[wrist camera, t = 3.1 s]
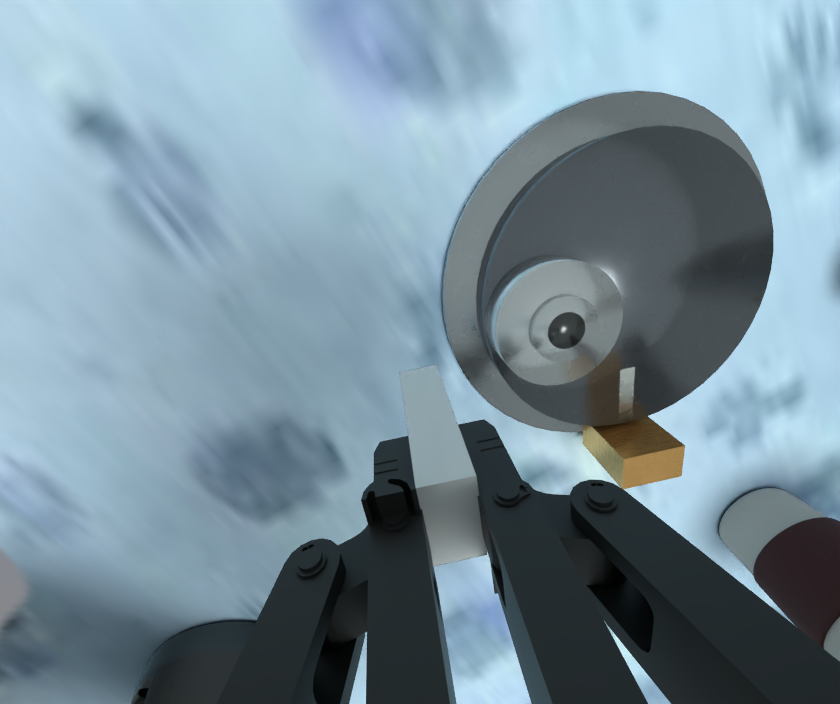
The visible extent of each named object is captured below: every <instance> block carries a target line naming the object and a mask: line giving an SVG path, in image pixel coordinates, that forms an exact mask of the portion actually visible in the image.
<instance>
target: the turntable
mask: <svg viewBox="0 0 840 704" xmlns="http://www.w3.org/2000/svg"><path fill="white" fill-rule="evenodd" d="M540 255H561V256H565V257H569V258H572V259H575V260H579V261H582V262H585V263H589V264H592V265H594V266H596V267H598V268H600V269H601V270H603V271H604V272H605V273H606V274H607V275H608V276H609V277H610V278H611V279H612V280H613V281H614V283H615V284H616V286H617V288H618V290H619V293H620V296H621V299H622V305H623V319H622V325H621V330H620V333H619V336H618V338H617V340H616V342H615V344H614V346H613V348H612V349H611V351H610V353H609V354H608V355H607V356H606V358H605V359H604V360H603V361H602V362H601V363H600V364H599V365H598V366H597V367H596V368H594V369H593V370H592V371H591V372H589V373H588V374H586V375H584V376H583V377H581V378H579V379H577V380H574V381H571V382H568V383H565V384H560V385H539V384H534V383H531V382H528V381H526V380H524V379H522V378H520V377H519V376H518V375H516V374H515V373H514V372H513V371H512V370H511V369H510V368H509V367H508V366H507V364H506V363H505V362H504V361H503V360H502V358H501V357H500V356H499V355H498V354H497V352H496V351H495V350H494V348H493V347H492V345H491V343H490V341H489V339H488V336H487V332H486V326H485V315H486V309H487V304H488V301H489V298H490V296H491V294H492V292H493V290H494V288H495V287H496V285H497V284H498V282H499V281H500V280H501V278H502V277H503V276H504V275H505V274H506V273H507V272H508V271H509V270H511V269H512V268H513V267H515V266H516V265H517V264H519V263H521V262H523V261H525V260H527V259H530V258H532V257H536V256H540ZM772 256H773V226H772V218H771V212H770V208H769V205H768V201H767V198H766V194H765V192H764V190H763V188H762V186H761V184H760V182H759V180H758V177H757V176H756V175H755V173H754V172H753V170H752V169H751V168H750V166H749V165H748V163H747V162H746V161H745V160H744V159H743V158H742V157H741V156H740V155H739V154H738V153H737V152H736V151H735V150H734V149H732V148H731V147H729V146H728V145H726V144H725V143H723V142H722V141H720V140H719V139H717V138H715V137H712V136H710V135H708V134H706V133H703V132H701V131H697V130H693V129H689V128H684V127H678V126H661V125H660V126H650V127H640V128H635V129H631V130H627V131H623V132H619V133H616V134H612V135H608V136H604V137H600V138H597V139H594V140H591V141H589V142H586V143H584V144H582V145H579V146H577V147H575V148H573V149H571V150H570V151H568V152H566V153H564V154H563V155H561V156H559V157H557V158H556V159H555V160H553V161H552V162H551V163H549V164H548V165H547V166H545V167H544V168H543V169H541V170H540V171H539V172H538V173H537V174H536V175H535V176H534V177H533V178H532V179H531V180H529V181H528V182H527V183H526V184H525V185H524V186H523V187H522V189H521V190H520V191H519V192H518V194H517V195H516V196H515V197H514V198H513V200H512V201H511V202H510V203H509V205H508V206H507V208H506V210H505V211H504V213H503V214H502V216H501V217H500V219H499V221H498V222H497V224H496V226H495V228H494V230H493V232H492V235H491V237H490V239H489V241H488V244H487V246H486V249H485V252H484V255H483V258H482V261H481V266H480V271H479V275H478V280H477V292H476V309H477V320H478V326H479V331H480V335H481V338H482V341H483V344H484V347H485V350H486V352H487V353H488V355H489V357H490V359H491V361H492V363H493V365H494V366H495V367H496V369H497V370H498V372H499V373H500V374H501V376H502V377H503V378H504V380H505V381H506V383H507V384H508V385H509V387H510V388H511V389H512V390H513V391H514V392H515V393H516V394H517V395H518V396H519V397H520V398H521V399H522V400H523V401H524V402H526V403H527V404H528V405H530V406H531V407H532V408H534V409H535V410H537V411H539V412H541V413H543V414H545V415H546V416H548V417H551V418H554V419H557V420H559V421H562V422H567V423H572V424H576V425H583V444H584V446H585V447H586V448H587V449H588V450H589V451H590V453H591V454H592V455H593V456H594V457H595V458H596V459H597V461H598V462H599V463H600V464H601V465H602V466H603V468H604V469H605V470H606V471H607V472H608V473H609V474H610V476H611V477H612V478H613V479H614V480H615V481H616V482H617V484H618V485H619V486H620V487H621V488H622V489H626V488H631V487H635V486H639V485H644V484H648V483H653V482H657V481H662V480H666V479H670V478H675V477H679V476H681V475H682V466H683V458H684V449H685V445H683V444H682V443H681V442H680V441H678V440H677V439H676V438H674V437H673V436H672V435H671V434H669V433H668V432H667V431H665V430H664V429H663V428H662V427H660V426H659V425H658V424H657V423H655V422H654V421H653V420H651V419H650V418H649V417H648V415H651V414H654V413H656V412H658V411H660V410H662V409H664V408H666V407H668V406H670V405H672V404H674V403H676V402H677V401H679V400H680V399H682V398H684V397H685V396H687V395H688V394H690V393H691V392H692V391H694V390H695V389H696V388H697V387H699V386H700V385H701V384H703V383H704V382H705V381H706V380H707V379H708V378H709V377H710V376H711V375H712V374H713V373H714V372H716V371H717V370H718V368H719V367H720V366H721V365H722V364H723V363H724V362H725V361H726V360H727V358H728V357H729V356H730V355H731V354H732V352H733V351H734V350H735V348H736V347H737V345H738V344H739V343H740V341H741V340H742V338H743V337H744V335H745V333H746V332H747V330H748V328H749V327H750V325H751V323H752V321H753V319H754V317H755V315H756V313H757V311H758V309H759V307H760V304H761V301H762V298H763V296H764V293H765V290H766V287H767V283H768V279H769V275H770V271H771V264H772Z"/></svg>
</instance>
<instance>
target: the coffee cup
mask: <svg viewBox="0 0 840 704" xmlns="http://www.w3.org/2000/svg"><path fill="white" fill-rule="evenodd" d="M719 534H720V537H721V539H722V541H723V543H724V544H725V545H726V546H727V547H728V548H729V549H730V551H731V552H732V553H733V554H734V555H735V556H736V557H737V558H738V559H739V560H740V561H741V563H742V564H743V565H744V566H745V567H746V568H747V569H748V570H749V571H750V572H751V573H752V575H753V576H754V578H755V581H756V582H757V584H758V585H759V586H760V587H761V588H762V589H763V590H764V592H765V593H766V594H767V595H768V596H769V597H770V598H771V599H772V600H773V602H774V603H775V604H776V605H777V606H778V607H779V608H780V609H781V610H782V611H783V613H784V614H785V615H786V616H787V617H788V618H789V619H790V620H791V621H792V623H793V624H794V625H795V626H796V627H797V628H798V629H799V630H801V631H802V632H803V633H804V634H806V635H807V636H808V637H809V638H811V639H812V640H813V641H815V642H816V643H817V644H818V645H820V646H821V647H822V648H823V649H825V650H826V651H827V652H828V653H830V654H831V655H832V656H833V657H835V658H836V659H837V660H838V661H840V521H838V520H835V519H832V518H828V517H827V516H825V515H824V514H822V513H820V512H819V511H817V510H816V509H814V508H812V507H811V506H809V505H808V504H806V503H804V502H803V501H801V500H800V499H798V498H796V497H795V496H793V495H792V494H790V493H788V492H786V491H784V490H781V489H777V488H764V489H759V490H755V491H753V492H750V493H748V494H746V495H744V496H743V497H741V498H740V499H738V500H737V501H736V502H734V503H733V504H732V505H731V506H730V507H729V508H728V510H727V511H726V512H725V514H724V515H723V517H722V519H721V522H720V526H719Z"/></svg>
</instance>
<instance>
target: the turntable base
mask: <svg viewBox="0 0 840 704" xmlns="http://www.w3.org/2000/svg"><path fill="white" fill-rule="evenodd" d="M660 125H661V126H678V127H684V128H689V129H693V130H697V131H701V132H703V133H706V134H708V135H710V136H712V137H715V138H717V139H719V140H720V141H722V142H723V143H725V144H726V145H728V146H729V147H731V148H732V149H734V150H735V151H736V152H737V153H738V154H739V155H740V156H741V157H742V158H743V159H744V160H745V161H746V162H747V163H748V165H749V166H750V168H751V169H752V170H753V172H754V173H755V175H756V176H757V177H758V180H759V182H760V184H761V186H762V188H763V190H764V186H763V183H762V179H761V176H760V173H759V170H758V168H757V166H756V164H755V162H754V160H753V158H752V155H751V153H750V152H749V150H748V149H747V147H746V146H745V144H744V143H743V142H742V140H741V139H740V137H739V136H738V135H737V134H736V133H735V132H734V131H733V130H732V129H731V128H730V127H729V126H728V125H727V124H726V123H725V122H724V121H723V120H722V119H721V118H719V117H718V116H716V115H715V114H714V113H712V112H711V111H709V110H708V109H706V108H705V107H703V106H700V105H698V104H696V103H694V102H692V101H689V100H687V99H685V98H681V97H677V96H673V95H669V94H665V93H658V92H644V91H634V92H623V93H613V94H609V95H605V96H601V97H597V98H593V99H589V100H586V101H584V102H582V103H579V104H577V105H574V106H572V107H570V108H567V109H565V110H562V111H560V112H558V113H556V114H555V115H553V116H551V117H550V118H548V119H546V120H545V121H543V122H541V123H539V124H538V125H536V126H535V127H533V128H532V129H531V130H529V131H528V132H527V133H526V134H524V135H523V136H522V137H520V138H519V139H518V140H517V141H515V142H514V143H513V144H512V145H511V146H510V147H509V148H508V149H507V150H506V151H505V152H504V153H503V154H502V155H501V156H500V157H499V158H498V159H497V160H496V161H495V162H494V163H493V165H492V166H491V167H490V169H489V170H488V171H487V172H486V174H485V175H484V176H483V178H482V179H481V180H480V181H479V183H478V184H477V186H476V188H475V189H474V191H473V193H472V194H471V196H470V198H469V199H468V201H467V203H466V204H465V206H464V208H463V211H462V213H461V215H460V217H459V220H458V222H457V224H456V226H455V229H454V232H453V235H452V238H451V241H450V245H449V248H448V251H447V256H446V262H445V267H444V273H443V287H442V303H443V316H444V322H445V327H446V331H447V336H448V339H449V342H450V345H451V347H452V350H453V353H454V355H455V358H456V360H457V361H458V363H459V365H460V367H461V369H462V370H463V372H464V374H465V376H466V377H467V379H468V380H469V381H470V383H471V384H472V385H473V387H474V388H475V389H476V391H477V392H478V393H479V394H480V395H481V396H482V397H484V398H485V399H486V400H487V401H488V402H489V403H490V404H491V405H492V406H494V407H495V408H497V409H498V410H499V411H501V412H502V413H504V414H505V415H507V416H509V417H511V418H513V419H515V420H517V421H519V422H522V423H525V424H527V425H530V426H533V427H536V428H541V429H546V430H551V431H561V432H583V425H576V424H572V423H567V422H562V421H559V420H557V419H554V418H551V417H548V416H546V415H545V414H543V413H541V412H539V411H537V410H535V409H534V408H532V407H531V406H530V405H528V404H527V403H526V402H524V401H523V400H522V399H521V398H520V397H519V396H518V395H517V394H516V393H515V392H514V391H513V390H512V389H511V388H510V387H509V385H508V384H507V383H506V381H505V380H504V378H503V377H502V376H501V374H500V373H499V372H498V370H497V369H496V367H495V366H494V365H493V363H492V361H491V359H490V357H489V355H488V353H487V352H486V350H485V347H484V344H483V341H482V338H481V335H480V331H479V326H478V320H477V309H476V292H477V280H478V275H479V271H480V266H481V261H482V258H483V255H484V252H485V249H486V246H487V244H488V241H489V239H490V237H491V235H492V232H493V230H494V228H495V226H496V224H497V222H498V221H499V219H500V217H501V216H502V214H503V213H504V211H505V210H506V208H507V206H508V205H509V203H510V202H511V201H512V200H513V198H514V197H515V196H516V195H517V194H518V192H519V191H520V190H521V189H522V187H523V186H524V185H525V184H526V183H527V182H528V181H529V180H531V179H532V178H533V177H534V176H535V175H536V174H537V173H538V172H539V171H540V170H541V169H543V168H544V167H545V166H547V165H548V164H549V163H551V162H552V161H553V160H555V159H556V158H557V157H559V156H561V155H563V154H564V153H566V152H568V151H570V150H571V149H573V148H575V147H577V146H579V145H582V144H584V143H586V142H589V141H591V140H594V139H597V138H600V137H604V136H608V135H612V134H616V133H619V132H623V131H627V130H631V129H635V128H640V127H650V126H660ZM764 192H765V190H764Z"/></svg>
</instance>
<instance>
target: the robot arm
mask: <svg viewBox="0 0 840 704" xmlns="http://www.w3.org/2000/svg"><path fill="white" fill-rule="evenodd" d="M400 380H401V387H402V394H403V401H404V408H405V416H406V423H407V430H408V436H406V437H401V438H397V439H392V440H387V441H382V442H380V443H379V445H378V446H377V448H376V450H375V452H374V482H373V483H371V484H370V485H369V486H368V487H367V488H366V490H365V491H364V492H363V496H362V499H361V501H362V505H363V508H364V511H365V515H366V518H367V522H368V525H367V527H366V528H365V529H364V530H363V531H362V532H361V533H360V534H358V535H357V536H355V537H353V538H352V539H350V540H348V541H346V542H344V543H342V544H340V545H336V544H335V543H334V542H333V541H331V540H327V539H317V540H311V541H309V542H307V543H305V544H303V545H301V546H300V547H299V548H297V549H296V550H295V551H294V552H293V553H292V554H291V555H290V557H289V558H288V559H287V561H286V562H285V564H284V566H283V568H282V570H281V572H280V574H279V576H278V578H277V580H276V582H275V585H274V587H273V589H272V591H271V593H270V595H269V597H268V599H267V601H266V603H265V605H264V607H263V609H262V611H261V613H260V615H259V617H258V619H257V621H256V623H252V622H221V623H214V624H208V625H203V626H199V627H196V628H193V629H190V630H187V631H185V632H182V633H180V634H178V635H176V636H174V637H173V638H171V639H169V640H168V641H166V642H165V643H164V644H162V645H161V646H160V647H159V648H158V649H157V650H156V651H155V652H154V653H153V655H152V656H151V658H150V659H149V661H148V663H147V665H146V667H145V669H144V672H143V674H142V676H141V678H140V680H139V682H138V684H137V686H136V689H135V691H134V694H133V698H132V702H131V704H349V701H350V697H351V693H352V689H353V684H354V680H355V676H356V672H357V667H358V663H359V659H360V655H361V651H362V646H363V642H364V638H365V632H367V679H366V704H456V698H455V692H454V686H453V680H452V673H451V667H450V661H449V655H448V649H447V643H446V637H445V630H444V624H443V618H442V612H441V606H440V600H439V593H438V587H437V582H436V578H435V573H434V567H433V566H438V565H442V564H447V563H451V562H456V561H461V560H465V559H470V558H474V557H479V556H484V555H487V551H488V554H489V557H490V562H491V569H492V577H493V584H494V591H495V594H496V593H498V595H499V598H500V601H501V605H502V608H503V611H504V614H505V618H506V621H507V624H508V627H509V631H510V634H511V637H512V641H513V644H514V647H515V650H516V654H517V657H518V660H519V663H520V667H521V670H522V673H523V677H524V680H525V683H526V686H527V690H528V693H529V696H530V699H531V703H532V704H648V703H647V701H646V699H645V697H644V695H643V693H642V691H641V690H640V688H639V686H638V684H637V682H636V680H635V678H634V676H633V675H632V673H631V671H630V669H629V667H628V665H627V663H626V661H625V660H624V658H623V656H622V654H621V652H620V650H619V648H618V646H617V645H616V643H615V641H614V639H613V637H612V635H611V633H610V631H609V630H608V628H607V626H606V624H607V625H608V626H609V627H610V628H611V630H612V631H613V632H614V633H615V635H616V636H617V637H618V638H619V640H620V641H621V642H622V643H623V645H624V646H625V647H626V648H627V650H628V651H629V652H630V653H631V654H632V656H633V657H634V658H635V659H636V661H637V662H638V663H639V664H640V666H641V667H642V668H643V669H644V671H645V672H646V673H647V674H648V675H649V677H650V678H651V679H652V680H653V682H654V683H655V684H656V685H657V687H658V688H659V689H660V690H661V692H662V693H663V694H664V695H665V697H666V698H667V699H668V700H669V701H670V703H671V704H840V661H838V660H837V659H836V658H835V657H833V656H832V655H831V654H830V653H828V652H827V651H826V650H825V649H823V648H822V647H821V646H820V645H818V644H817V643H816V642H815V641H813V640H812V639H811V638H809V637H808V636H807V635H806V634H804V633H803V632H802V631H801V630H799V629H798V628H797V627H796V626H794V625H793V624H792V623H791V622H789V621H788V620H787V619H786V618H784V617H783V616H782V615H781V614H779V613H778V612H777V611H775V610H774V609H773V608H772V607H770V606H769V605H768V604H767V603H765V602H764V601H763V600H762V599H760V598H759V597H758V596H757V595H755V594H754V593H753V592H752V591H750V590H749V589H748V588H747V587H745V586H744V585H743V584H741V583H740V582H739V581H738V580H736V579H735V578H734V577H733V576H731V575H730V574H729V573H728V572H726V571H725V570H724V569H723V568H721V567H720V566H719V565H718V564H716V563H715V562H714V561H713V560H711V559H710V558H709V557H708V556H706V555H705V554H704V553H702V552H701V551H700V550H699V549H697V548H696V547H695V546H694V545H692V544H691V543H690V542H689V541H687V540H686V539H685V538H684V537H682V536H681V535H680V534H679V533H677V532H676V531H675V530H674V529H672V528H671V527H670V526H668V525H667V524H666V523H665V522H663V521H662V520H661V519H660V518H658V517H657V516H656V515H655V514H653V513H652V512H651V511H650V510H648V509H647V508H646V507H645V506H643V505H642V504H641V503H640V502H638V501H637V500H636V499H634V498H633V497H632V496H631V495H629V494H628V493H627V492H626V491H624V490H623V489H622V488H620V487H618V486H616V485H615V484H613V483H610V482H606V481H603V480H587V481H583V482H580V483H579V484H577V485H576V486H574V487H573V489H572V491H571V493H570V495H554V494H546V493H542V492H539V491H536V490H534V489H533V488H532V487H531V486H530V485H529V484H528V483H527V482H525V481H523V480H522V479H521V478H520V476H519V474H518V472H517V470H516V468H515V466H514V464H513V462H512V460H511V458H510V456H509V454H508V452H507V450H506V448H505V447H504V445H503V443H502V441H501V439H500V437H499V435H498V433H497V431H496V429H495V427H494V426H492V425H491V424H490V423H488V422H487V421H485V420H479V421H474V422H469V423H465V424H460V425H458V423H457V421H456V418H455V415H454V412H453V410H452V407H451V404H450V401H449V398H448V396H447V393H446V390H445V387H444V385H443V382H442V379H441V376H440V373H439V371H438V368H437V365H434V366H429V367H424V368H419V369H414V370H408V371H403V372H400ZM486 548H487V550H486ZM604 621H605V622H606V624H605V622H604Z"/></svg>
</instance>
